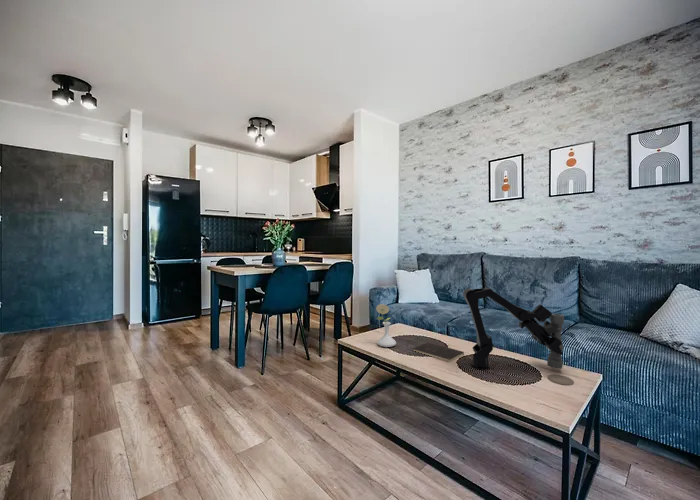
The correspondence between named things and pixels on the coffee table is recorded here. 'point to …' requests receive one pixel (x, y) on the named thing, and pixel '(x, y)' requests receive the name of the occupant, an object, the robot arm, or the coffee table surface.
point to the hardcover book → (438, 351)
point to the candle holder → (558, 319)
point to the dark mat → (560, 379)
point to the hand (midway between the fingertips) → (558, 352)
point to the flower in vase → (386, 339)
